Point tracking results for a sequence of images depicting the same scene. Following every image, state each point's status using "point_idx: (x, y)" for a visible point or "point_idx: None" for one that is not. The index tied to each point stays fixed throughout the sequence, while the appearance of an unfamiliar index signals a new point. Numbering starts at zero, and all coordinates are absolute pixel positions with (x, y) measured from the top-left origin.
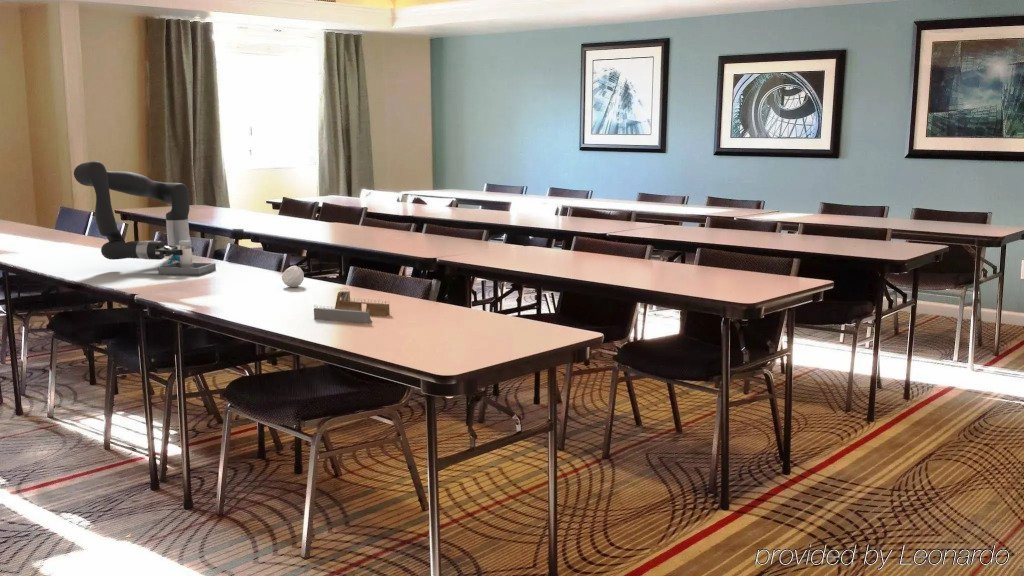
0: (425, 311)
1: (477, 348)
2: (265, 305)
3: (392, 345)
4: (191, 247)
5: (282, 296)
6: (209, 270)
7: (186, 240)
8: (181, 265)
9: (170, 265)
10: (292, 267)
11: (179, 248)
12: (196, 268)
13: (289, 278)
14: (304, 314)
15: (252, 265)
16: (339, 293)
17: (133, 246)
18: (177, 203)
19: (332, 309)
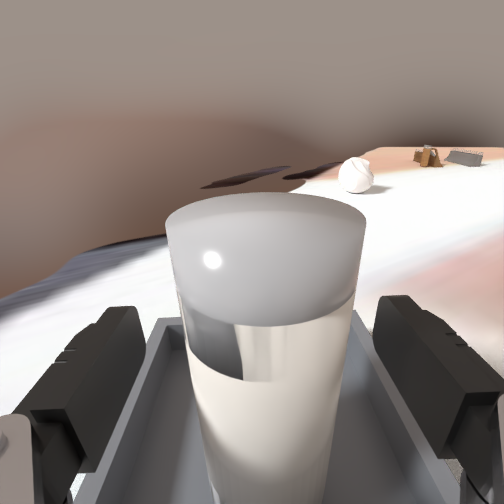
0: (385, 158)
1: (447, 149)
2: (484, 182)
3: (483, 153)
4: (130, 316)
5: (423, 186)
6: None
7: (205, 216)
8: (325, 483)
9: None
10: (361, 158)
11: (342, 346)
12: (360, 318)
13: (372, 174)
14: (474, 169)
15: (48, 292)
16: (435, 149)
17: None
18: None
19: (470, 153)
